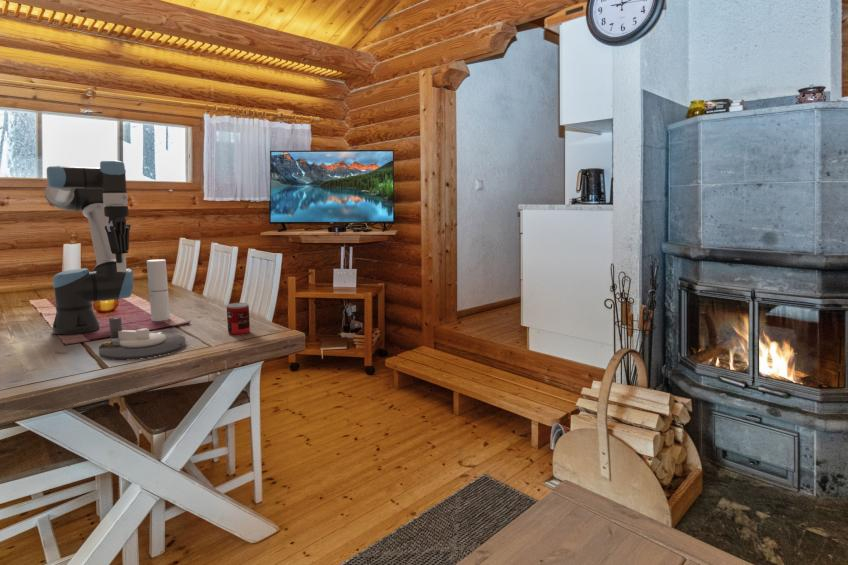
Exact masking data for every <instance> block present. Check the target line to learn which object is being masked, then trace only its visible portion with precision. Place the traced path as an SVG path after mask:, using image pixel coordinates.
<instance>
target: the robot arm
mask: <svg viewBox="0 0 848 565" xmlns="http://www.w3.org/2000/svg"><path fill="white" fill-rule="evenodd" d="M126 173H127V171H126V168H125V163H124V162H123V161H120V160H101V161H100V162H99V167H97V166H96V167H92V166H91V167H90V166H88V167H87V166H82V167H81V166H64V165H63V166H61V165H56V166H55V165H52V166H48V167H46V181H47V186H46V187H45V190H44V197H45V199H46V201H47V202H48V203H49V204H50V205H52V206H54V207H56V208H58V209H61V210H62V211H63V210H65V211H71V212H81V213H82V215H83V217H85V218H87V222H88V225H89V226H88V227H89V232H90V236H91V241H92V242H91V243H92V247H93V250H94V251H93V252H94V257H95V260H96V261H95V262H96V265H95V266H94V267H93V271H90V270H89V268H85V267H84V268H83V267H81V268H76V269H70V270H65V271H61V272H58V273H56V274H54V276H53V277H52V281H53V282H52V288H53V290H54V291H53V293H54V301H55V310H56V311H55V312H56V313H55V317H54V321H53V325H52V334H54V335H59V334H63V336H64V335H66V336H67V335H69V334H70V335H78V334H79V333H80V334H85V333H90V332H94V331H96V330H99V329H100V322H99V320H98V317H97V315H96V313H95V311H94V309H93V303H94V302H100V301H101V302H102V301H113V300H121V299H127V298H130V297H131V296H132V295H133V290H134V273H133V272H134V271H133V269H131V268H128V267H127V257H126V254H128V253H129V248H130V230H131V224H128V223H127V220H126V217H129V216H130V212H129V207H128V206H127V205H128V204H129V203H128V199H129V196H128V191H127V188H128V187H127V177H126V175H127V174H126ZM70 335H69V336H70Z"/></svg>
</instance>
